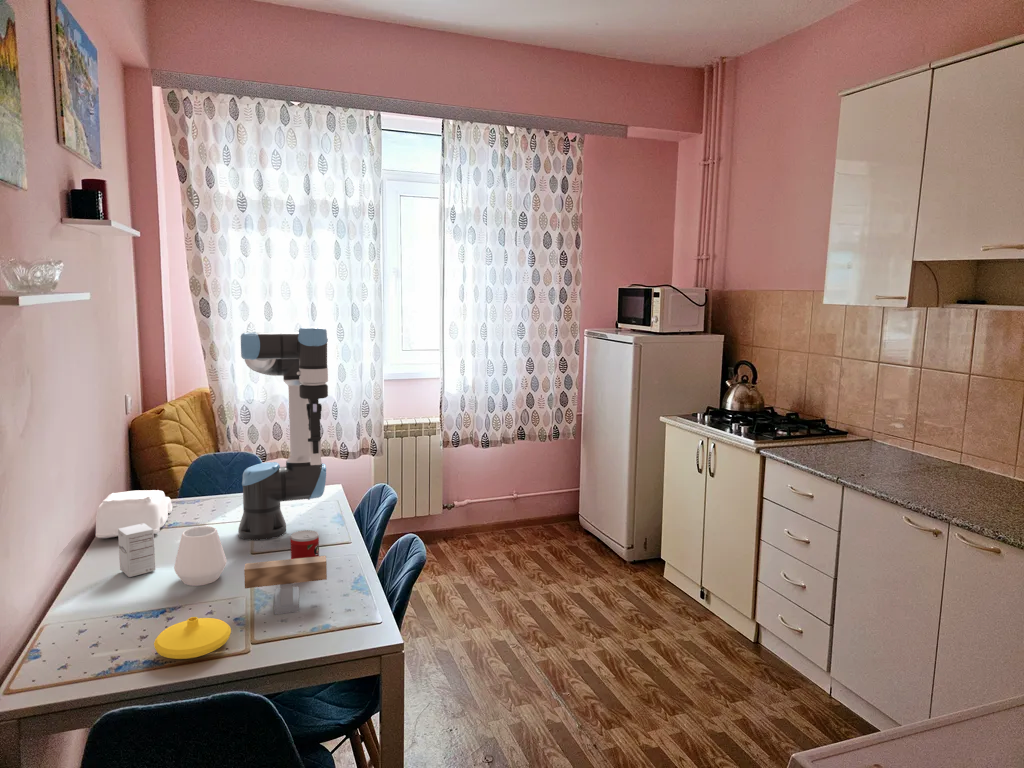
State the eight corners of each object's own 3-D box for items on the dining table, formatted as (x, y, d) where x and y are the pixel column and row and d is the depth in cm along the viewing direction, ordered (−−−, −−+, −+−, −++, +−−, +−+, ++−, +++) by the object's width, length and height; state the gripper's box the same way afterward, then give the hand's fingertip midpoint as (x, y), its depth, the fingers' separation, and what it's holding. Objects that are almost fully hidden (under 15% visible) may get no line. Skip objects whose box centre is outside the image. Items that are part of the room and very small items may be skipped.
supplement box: (119, 570, 191) (116, 528, 189) (147, 563, 196) (145, 522, 195) (128, 578, 186) (125, 534, 184) (156, 570, 191) (154, 528, 190)
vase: (178, 630, 158) (177, 602, 157) (243, 632, 157) (242, 604, 156) (138, 666, 142) (137, 635, 141) (210, 669, 142) (209, 638, 141)
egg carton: (92, 543, 212) (90, 502, 210) (115, 514, 240) (113, 478, 238) (159, 537, 218) (157, 498, 216) (174, 510, 246) (172, 474, 245)
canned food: (311, 577, 189) (310, 540, 188) (285, 574, 190) (285, 537, 189) (324, 567, 196) (323, 531, 195) (299, 564, 198) (298, 529, 197)
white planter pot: (163, 584, 183) (161, 535, 181) (201, 566, 195) (199, 520, 193) (201, 592, 178) (199, 542, 176) (237, 573, 190) (236, 527, 189)
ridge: (275, 594, 178) (274, 572, 177) (298, 591, 180) (298, 570, 179) (274, 614, 167) (273, 591, 166) (299, 611, 168) (299, 588, 168)
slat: (244, 588, 167) (244, 569, 167) (245, 582, 171) (245, 563, 170) (326, 579, 174) (326, 561, 173) (325, 573, 177) (325, 555, 177)
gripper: (298, 378, 192) (300, 449, 195) (299, 389, 169) (301, 470, 172) (325, 377, 195) (326, 448, 197) (330, 389, 171) (331, 468, 174)
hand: (314, 458), depth 184 cm, fingers open, 13 cm apart
